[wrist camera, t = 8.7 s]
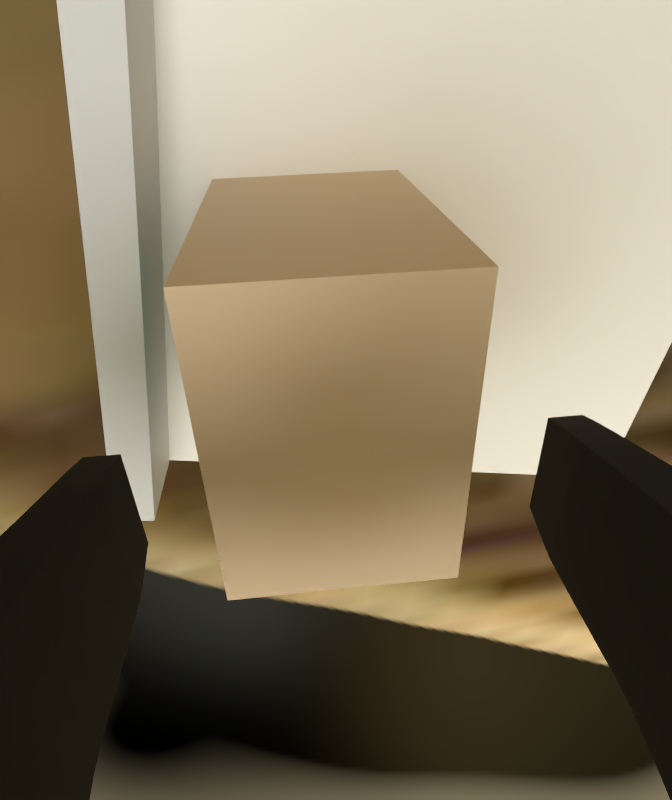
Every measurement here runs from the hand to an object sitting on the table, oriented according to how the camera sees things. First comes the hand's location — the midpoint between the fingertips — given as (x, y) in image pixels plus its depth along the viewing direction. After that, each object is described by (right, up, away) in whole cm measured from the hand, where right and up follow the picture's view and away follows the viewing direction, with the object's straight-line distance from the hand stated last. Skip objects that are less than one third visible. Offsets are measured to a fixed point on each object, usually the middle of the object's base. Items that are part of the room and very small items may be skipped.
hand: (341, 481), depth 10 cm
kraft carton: (-1, +5, +7) cm, 9 cm away
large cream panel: (+3, +6, +8) cm, 10 cm away
